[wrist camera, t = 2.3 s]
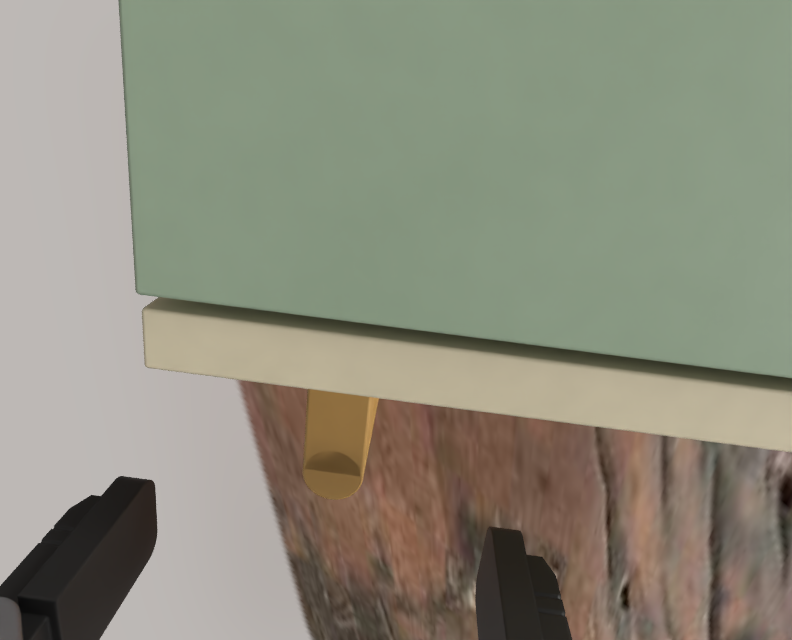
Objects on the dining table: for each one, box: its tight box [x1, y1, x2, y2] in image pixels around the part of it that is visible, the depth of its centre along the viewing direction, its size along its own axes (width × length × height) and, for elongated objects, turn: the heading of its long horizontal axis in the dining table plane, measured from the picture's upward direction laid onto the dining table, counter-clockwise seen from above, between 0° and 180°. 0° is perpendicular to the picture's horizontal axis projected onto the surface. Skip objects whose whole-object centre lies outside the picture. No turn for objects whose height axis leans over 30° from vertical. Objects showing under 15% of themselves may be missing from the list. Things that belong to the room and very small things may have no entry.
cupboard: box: [119, 0, 792, 378], centre depth 15 cm, size 12×18×20 cm
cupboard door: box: [142, 297, 792, 500], centre depth 18 cm, size 7×18×19 cm, turn 84°
